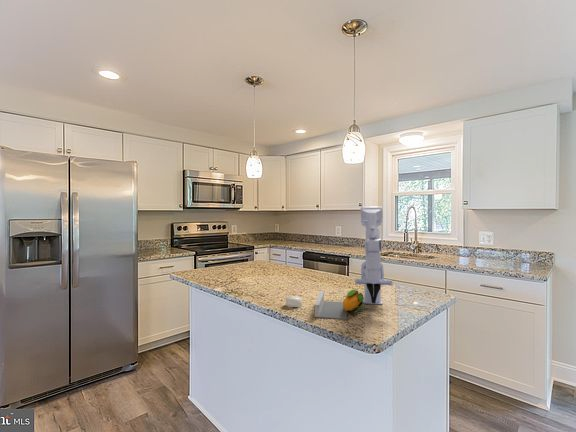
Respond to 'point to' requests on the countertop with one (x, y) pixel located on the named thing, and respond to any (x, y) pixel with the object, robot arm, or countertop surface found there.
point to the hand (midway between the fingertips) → (373, 302)
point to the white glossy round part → (293, 301)
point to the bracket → (329, 308)
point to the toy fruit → (353, 300)
